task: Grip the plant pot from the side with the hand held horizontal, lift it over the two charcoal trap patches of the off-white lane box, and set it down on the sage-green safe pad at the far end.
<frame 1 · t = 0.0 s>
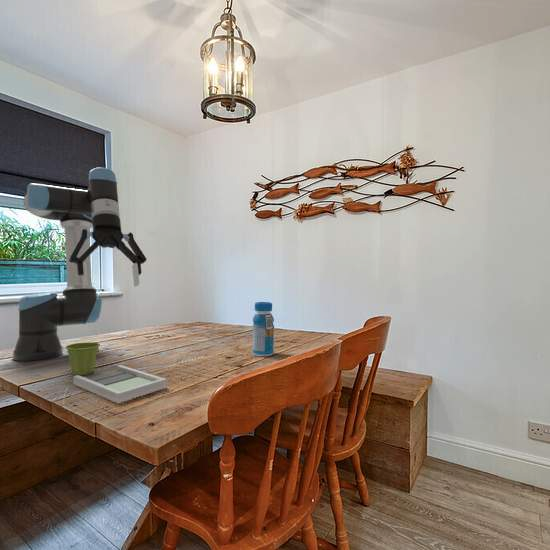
hand: (112, 285, 97), 28 cm above the table, tool tilted 20°, fingers open, 13 cm apart
plant pot: (83, 373, 107), on the table
beverage bottle: (263, 354, 133), on the table
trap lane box: (119, 386, 95), on the table
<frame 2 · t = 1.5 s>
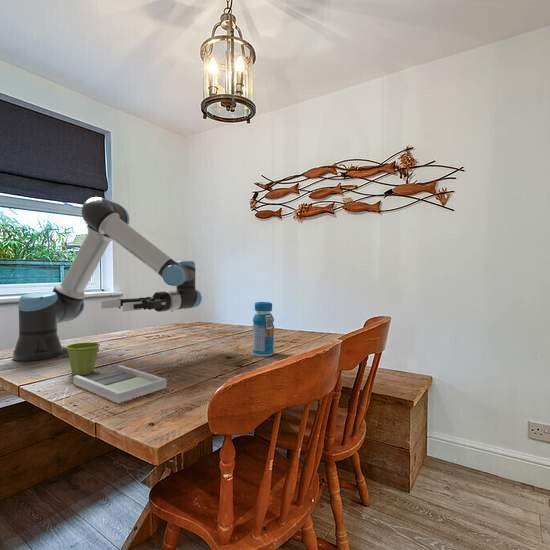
hand: (112, 305, 114), 20 cm above the table, tool horizontal, fingers open, 13 cm apart
nothing on the table moved.
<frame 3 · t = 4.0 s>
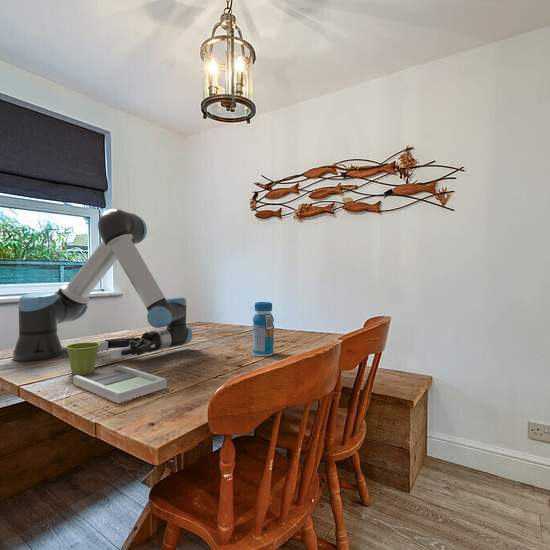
hand: (99, 351, 110), 6 cm above the table, tool horizontal, fingers open, 13 cm apart
nothing on the table moved.
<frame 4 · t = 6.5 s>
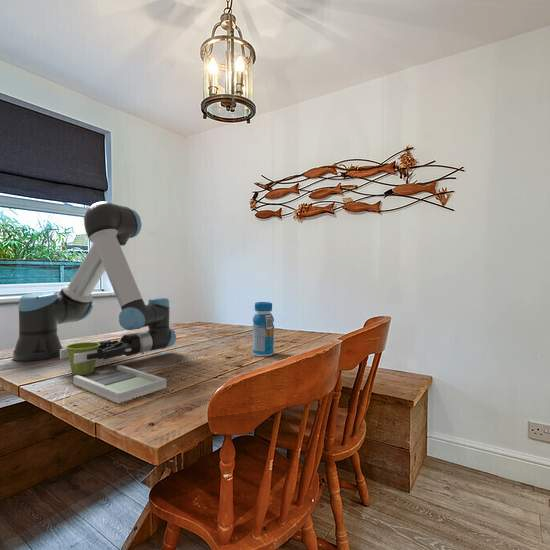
hand: (67, 356, 103), 6 cm above the table, tool horizontal, fingers closed on plant pot, 8 cm apart
plant pot: (83, 373, 107), on the table, touching gripper
everything else where it was.
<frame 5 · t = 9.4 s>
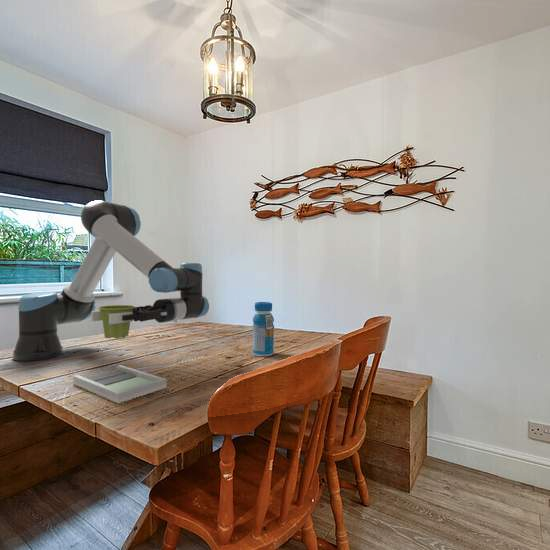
hand: (100, 317, 94), 19 cm above the table, tool horizontal, fingers closed on plant pot, 8 cm apart
plant pot: (116, 337, 98), point 13 cm above the table, touching gripper
everything else where it was.
when the fingers open (9 cm above the table, at t = 12.7 s): plant pot moves 3 cm, resting on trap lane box.
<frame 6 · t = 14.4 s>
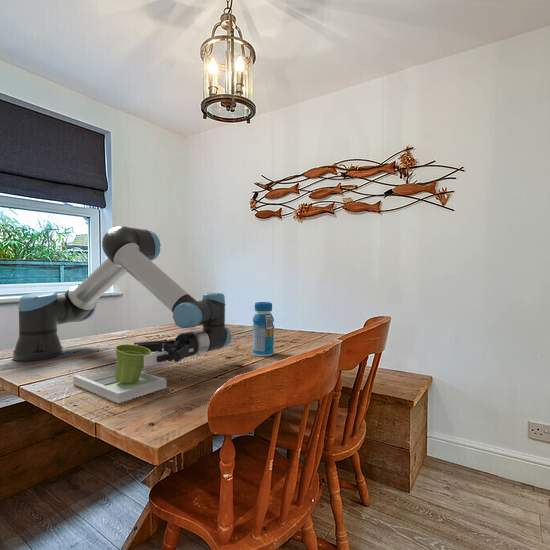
hand: (129, 357, 92), 9 cm above the table, tool horizontal, fingers open, 13 cm apart
plant pot: (126, 380, 95), point 2 cm above the table, touching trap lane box
everything else where it was.
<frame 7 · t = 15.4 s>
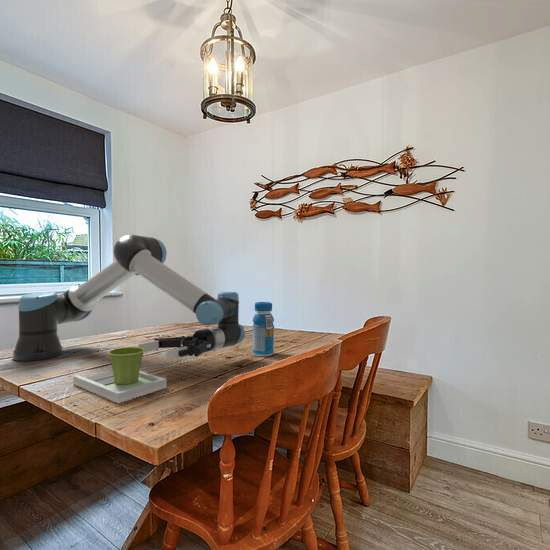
hand: (152, 351, 98), 9 cm above the table, tool horizontal, fingers open, 13 cm apart
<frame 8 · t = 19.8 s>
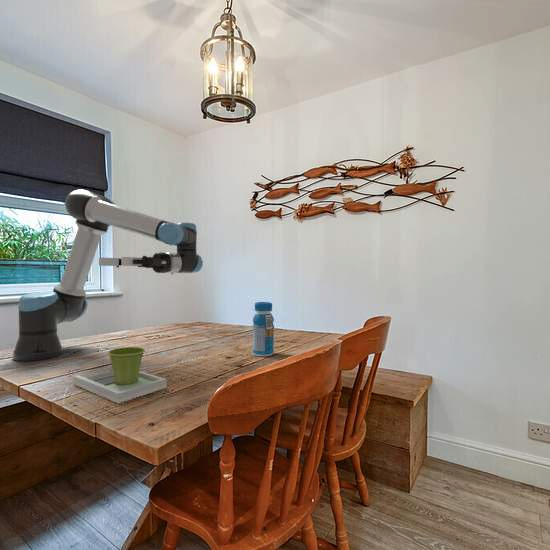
hand: (110, 261, 109), 35 cm above the table, tool horizontal, fingers open, 13 cm apart
at the end: plant pot 3.3 cm from the target spot, point 1.1 cm above the table; plant pot tilted 0°; the gripper is holding nothing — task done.
